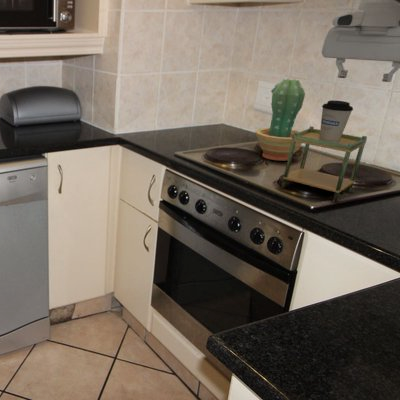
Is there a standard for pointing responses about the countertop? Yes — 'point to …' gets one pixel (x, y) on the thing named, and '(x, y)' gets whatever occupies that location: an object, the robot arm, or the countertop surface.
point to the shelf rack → (318, 178)
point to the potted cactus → (282, 120)
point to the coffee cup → (334, 120)
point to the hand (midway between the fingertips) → (363, 79)
